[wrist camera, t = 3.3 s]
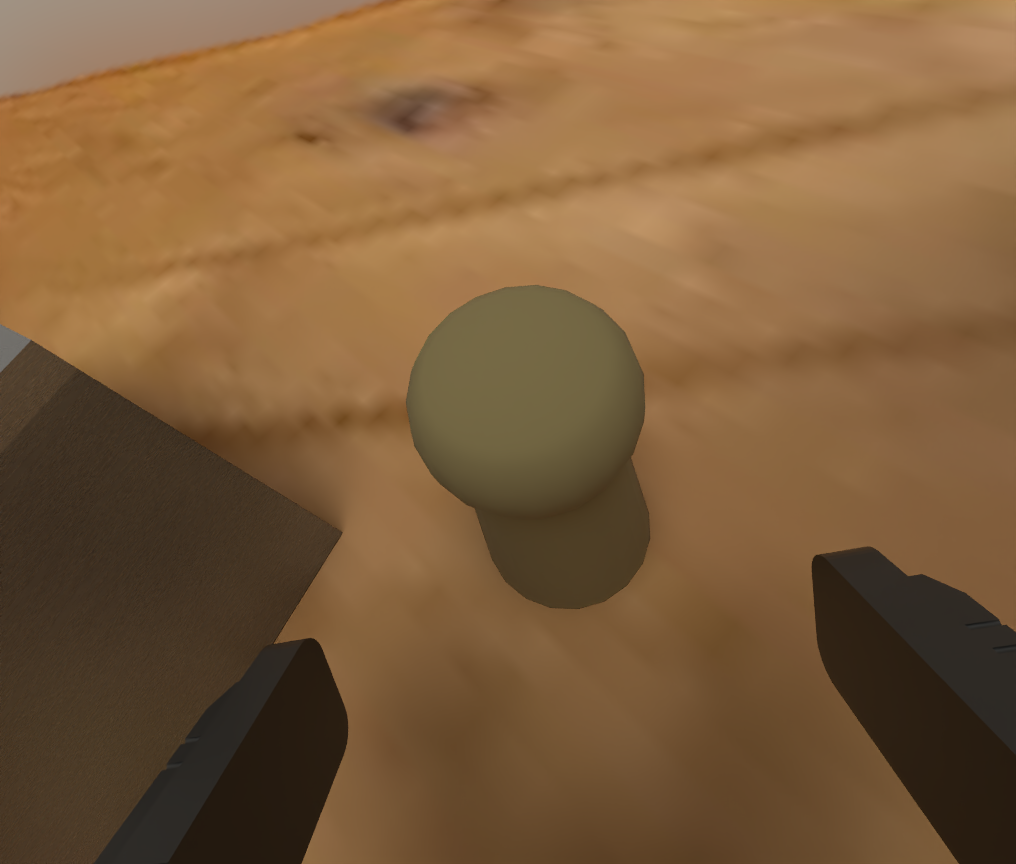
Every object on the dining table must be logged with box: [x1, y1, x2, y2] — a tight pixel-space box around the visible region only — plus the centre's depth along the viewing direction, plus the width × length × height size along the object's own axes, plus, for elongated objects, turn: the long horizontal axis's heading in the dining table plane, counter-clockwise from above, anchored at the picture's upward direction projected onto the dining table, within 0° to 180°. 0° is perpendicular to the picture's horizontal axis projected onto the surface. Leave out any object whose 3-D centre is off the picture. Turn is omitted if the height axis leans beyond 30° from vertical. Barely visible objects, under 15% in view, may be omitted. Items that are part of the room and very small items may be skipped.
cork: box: [406, 285, 650, 609], centre depth 15 cm, size 6×6×11 cm
